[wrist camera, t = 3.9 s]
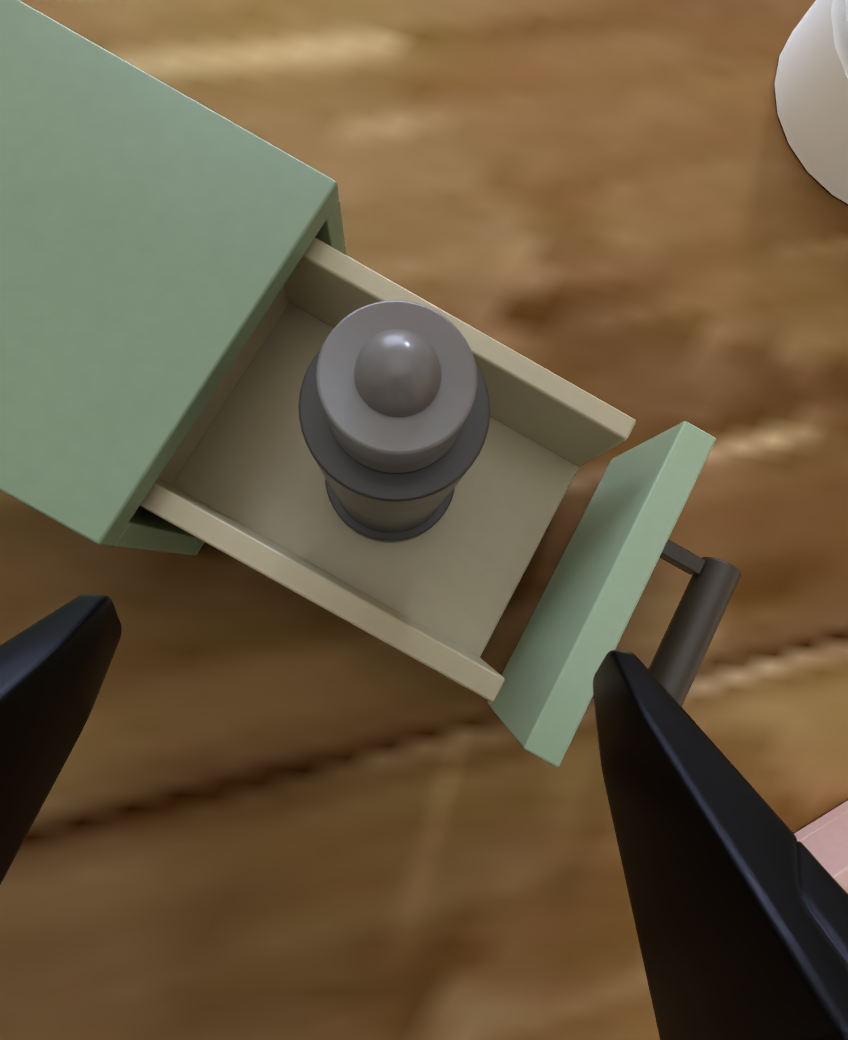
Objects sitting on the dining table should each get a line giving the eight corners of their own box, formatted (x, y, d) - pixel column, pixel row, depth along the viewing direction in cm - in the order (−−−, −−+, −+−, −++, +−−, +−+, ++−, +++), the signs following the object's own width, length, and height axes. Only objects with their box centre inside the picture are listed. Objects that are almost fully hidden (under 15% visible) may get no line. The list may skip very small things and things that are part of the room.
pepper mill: (414, 565, 19) (455, 549, 8) (304, 503, 19) (196, 404, 8) (474, 458, 20) (585, 311, 9) (367, 398, 20) (346, 175, 9)
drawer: (719, 519, 21) (827, 500, 16) (602, 768, 20) (681, 837, 15) (296, 279, 21) (267, 181, 16) (144, 513, 20) (56, 489, 14)
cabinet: (352, 306, 22) (337, 180, 15) (196, 556, 20) (98, 545, 13) (0, 106, 22) (-181, -116, 15) (-188, 342, 20) (-494, 216, 13)
